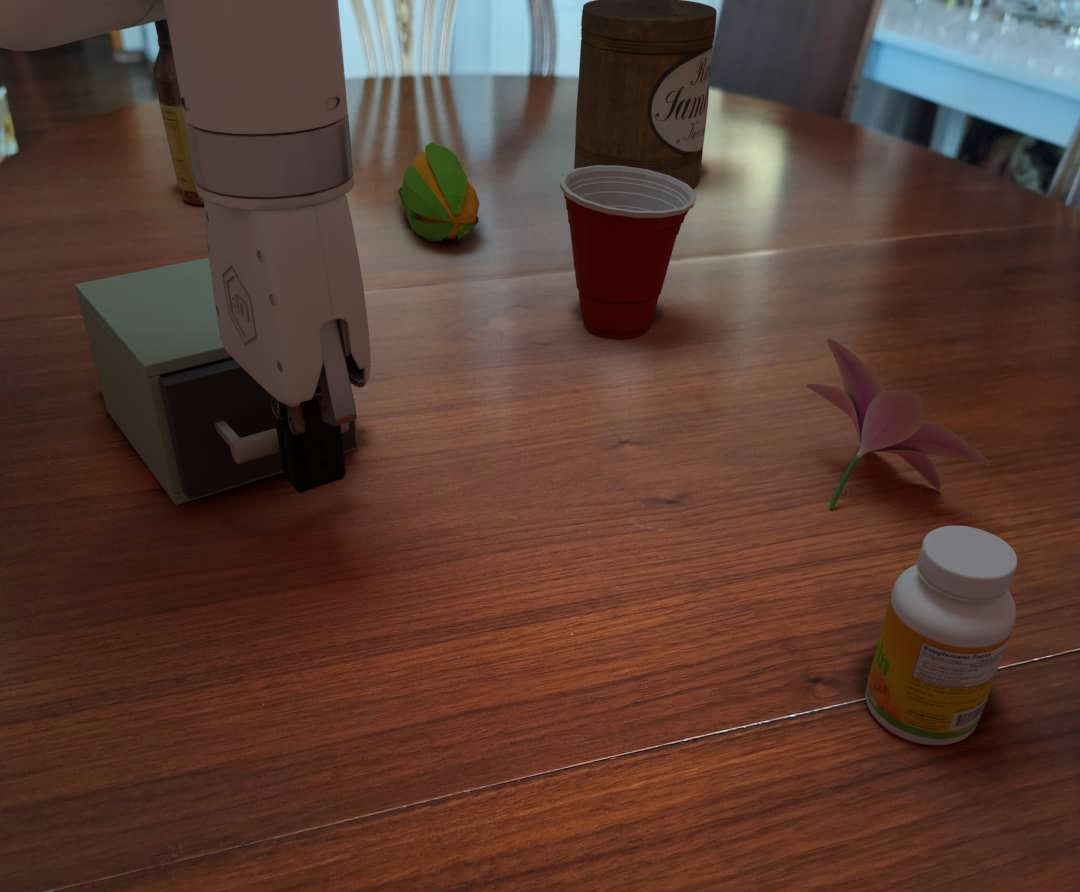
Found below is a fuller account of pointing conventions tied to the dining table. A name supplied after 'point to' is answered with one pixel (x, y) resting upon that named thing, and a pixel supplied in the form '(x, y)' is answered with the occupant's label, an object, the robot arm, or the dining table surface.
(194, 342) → the cabinet
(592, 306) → the plastic cup
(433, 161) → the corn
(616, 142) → the wooden container
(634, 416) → the dining table surface
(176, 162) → the sauce bottle
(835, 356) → the lily
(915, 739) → the supplement bottle
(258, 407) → the drawer
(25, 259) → the dining table surface
